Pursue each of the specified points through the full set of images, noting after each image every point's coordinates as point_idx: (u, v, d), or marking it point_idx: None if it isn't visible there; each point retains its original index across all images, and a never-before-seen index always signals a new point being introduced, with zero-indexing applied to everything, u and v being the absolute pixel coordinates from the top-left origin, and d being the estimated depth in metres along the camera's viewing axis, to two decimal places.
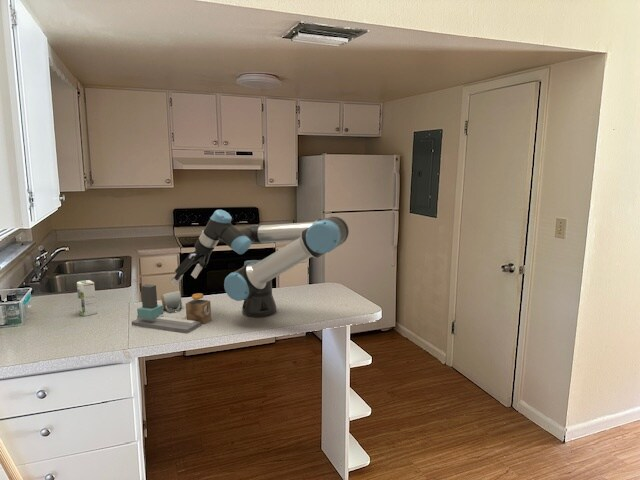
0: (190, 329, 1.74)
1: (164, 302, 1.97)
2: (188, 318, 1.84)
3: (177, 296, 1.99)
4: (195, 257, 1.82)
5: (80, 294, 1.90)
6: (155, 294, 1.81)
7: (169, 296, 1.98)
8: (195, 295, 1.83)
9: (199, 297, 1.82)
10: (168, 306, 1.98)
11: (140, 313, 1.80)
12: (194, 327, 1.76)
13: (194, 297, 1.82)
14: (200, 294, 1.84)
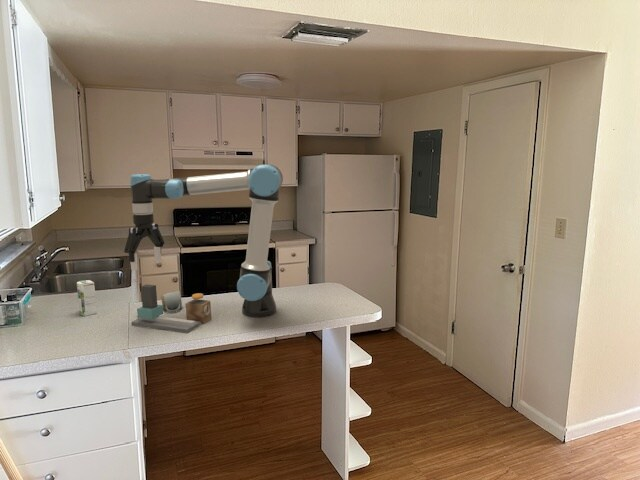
0: (190, 329, 1.74)
1: (164, 302, 1.96)
2: (188, 318, 1.84)
3: (177, 296, 1.99)
4: (138, 231, 1.72)
5: (80, 294, 1.90)
6: (155, 294, 1.81)
7: (169, 296, 1.98)
8: (195, 295, 1.83)
9: (199, 297, 1.82)
10: (168, 306, 1.97)
11: (140, 313, 1.80)
12: (194, 327, 1.76)
13: (194, 297, 1.82)
14: (200, 294, 1.84)
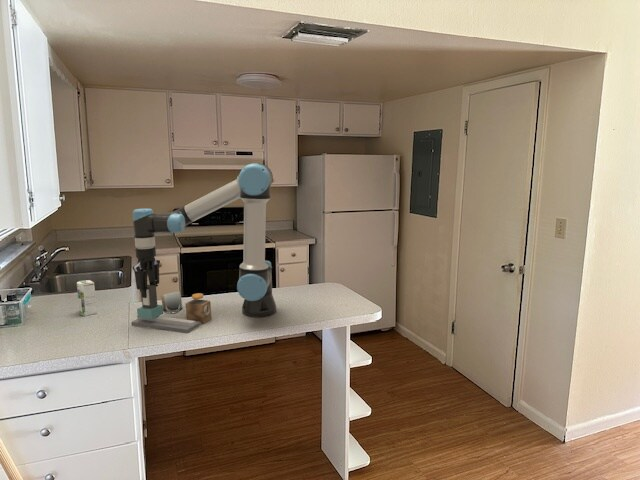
0: (190, 329, 1.74)
1: (164, 303, 1.96)
2: (188, 318, 1.84)
3: (177, 297, 1.98)
4: (141, 265, 1.75)
5: (80, 294, 1.90)
6: (155, 294, 1.81)
7: (169, 296, 1.97)
8: (195, 295, 1.83)
9: (199, 297, 1.82)
10: (168, 307, 1.97)
11: (140, 313, 1.80)
12: (194, 327, 1.76)
13: (194, 297, 1.82)
14: (200, 294, 1.84)
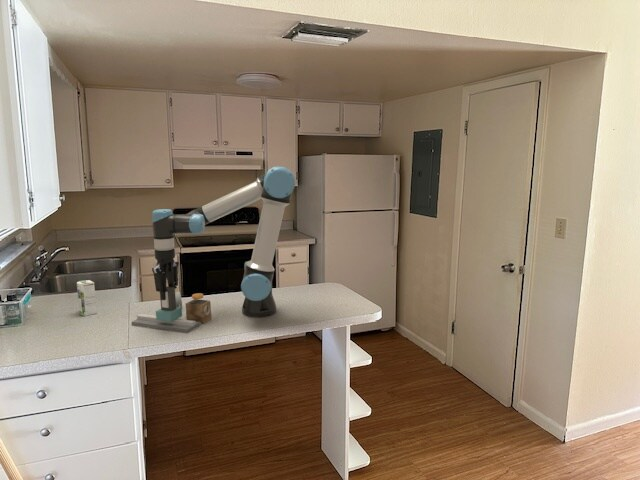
0: (190, 329, 1.74)
1: None
2: (188, 318, 1.84)
3: (177, 297, 1.98)
4: (160, 266, 1.72)
5: (80, 294, 1.90)
6: (174, 296, 1.78)
7: None
8: (195, 295, 1.83)
9: (199, 297, 1.82)
10: None
11: (159, 316, 1.76)
12: (194, 327, 1.76)
13: (194, 297, 1.82)
14: (200, 294, 1.84)
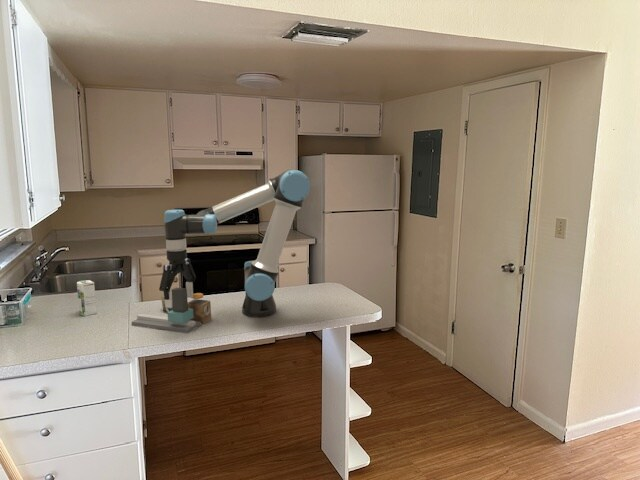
0: (190, 329, 1.74)
1: (164, 303, 1.95)
2: None
3: None
4: (172, 267, 1.70)
5: (80, 294, 1.90)
6: (186, 297, 1.76)
7: None
8: (195, 295, 1.83)
9: (199, 297, 1.82)
10: None
11: (171, 317, 1.75)
12: (194, 327, 1.76)
13: (194, 297, 1.82)
14: (200, 294, 1.84)
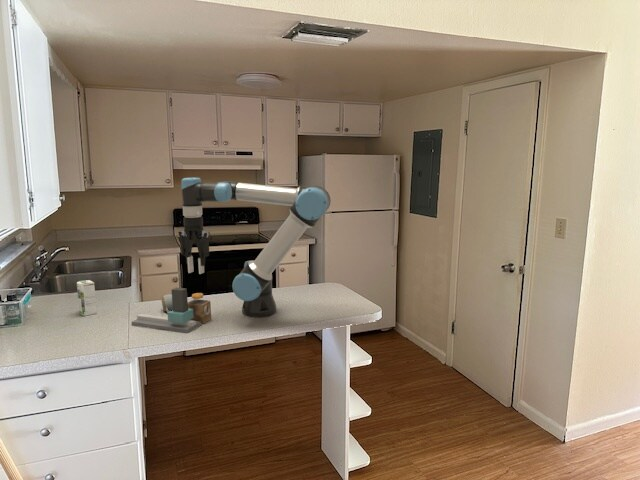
0: (190, 329, 1.74)
1: (164, 304, 1.94)
2: None
3: None
4: (184, 231, 1.80)
5: (80, 294, 1.90)
6: (186, 297, 1.76)
7: (169, 297, 1.96)
8: (195, 295, 1.83)
9: (199, 297, 1.82)
10: (168, 308, 1.95)
11: (171, 317, 1.75)
12: (194, 327, 1.76)
13: (194, 297, 1.82)
14: (200, 294, 1.84)
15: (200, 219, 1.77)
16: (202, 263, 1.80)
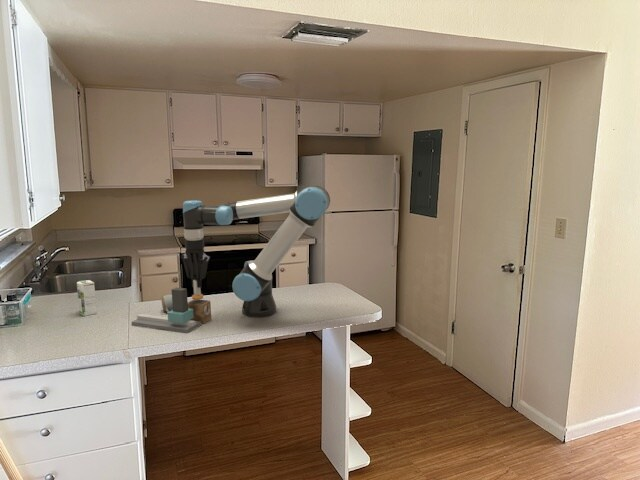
0: (190, 329, 1.74)
1: (164, 304, 1.94)
2: None
3: None
4: (185, 253, 1.81)
5: (80, 294, 1.90)
6: (186, 297, 1.76)
7: (169, 298, 1.95)
8: None
9: (199, 297, 1.82)
10: (168, 308, 1.95)
11: (171, 317, 1.75)
12: (194, 327, 1.76)
13: (194, 297, 1.82)
14: (200, 294, 1.84)
15: (201, 242, 1.78)
16: (198, 285, 1.82)
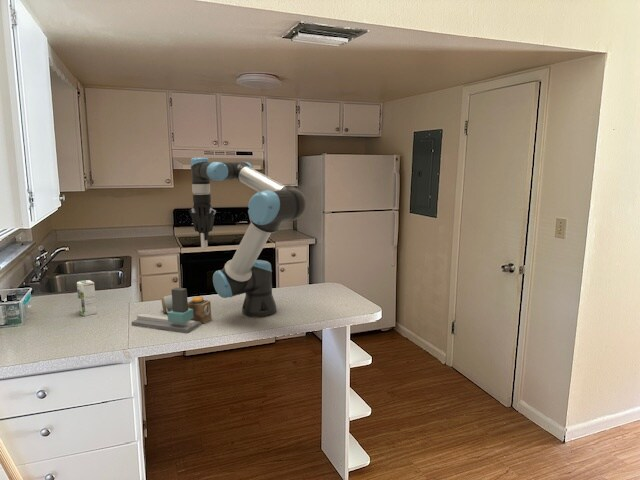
0: (190, 329, 1.74)
1: (164, 305, 1.93)
2: None
3: None
4: (193, 208, 1.93)
5: (80, 294, 1.90)
6: (186, 297, 1.76)
7: (170, 298, 1.94)
8: (195, 298, 1.83)
9: (199, 300, 1.82)
10: (169, 309, 1.94)
11: (171, 317, 1.75)
12: (194, 327, 1.76)
13: (194, 300, 1.82)
14: (200, 297, 1.84)
15: (208, 196, 1.90)
16: (206, 238, 1.94)
